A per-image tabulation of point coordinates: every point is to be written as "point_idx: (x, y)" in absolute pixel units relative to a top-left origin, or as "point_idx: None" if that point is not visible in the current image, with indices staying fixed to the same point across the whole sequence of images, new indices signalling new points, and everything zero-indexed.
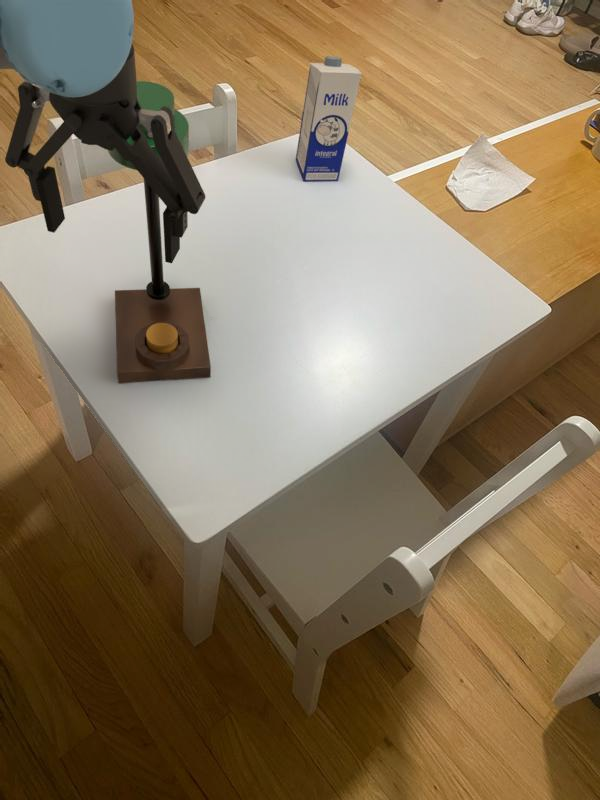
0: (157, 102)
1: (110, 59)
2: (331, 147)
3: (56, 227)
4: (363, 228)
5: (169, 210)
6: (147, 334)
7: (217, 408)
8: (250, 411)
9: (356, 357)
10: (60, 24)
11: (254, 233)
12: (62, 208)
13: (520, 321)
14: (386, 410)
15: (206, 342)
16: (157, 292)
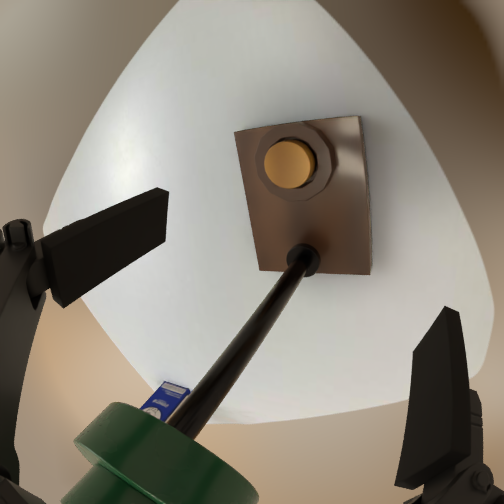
0: None
1: None
2: (154, 405)
3: (437, 321)
4: (136, 329)
5: (48, 260)
6: (307, 163)
7: (232, 84)
8: (197, 87)
9: (117, 174)
10: None
11: (219, 345)
12: (412, 373)
13: (47, 220)
14: (97, 116)
15: (242, 174)
16: (302, 253)
